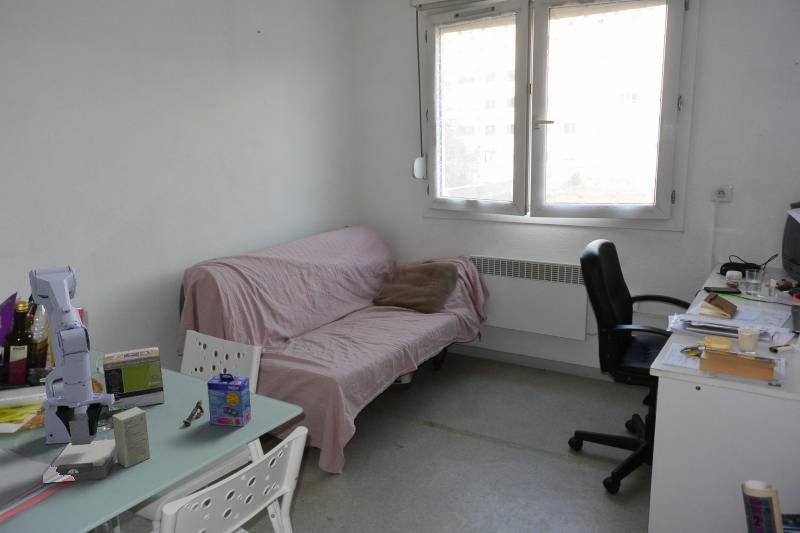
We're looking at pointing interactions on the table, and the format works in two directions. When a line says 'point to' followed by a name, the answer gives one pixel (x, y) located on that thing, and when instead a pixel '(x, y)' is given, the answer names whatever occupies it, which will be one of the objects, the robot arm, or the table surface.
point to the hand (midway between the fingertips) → (83, 434)
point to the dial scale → (87, 460)
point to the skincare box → (131, 436)
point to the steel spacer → (80, 430)
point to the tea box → (134, 377)
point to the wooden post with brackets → (194, 411)
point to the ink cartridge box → (229, 400)
